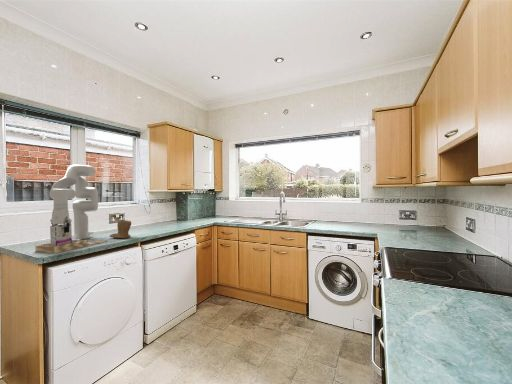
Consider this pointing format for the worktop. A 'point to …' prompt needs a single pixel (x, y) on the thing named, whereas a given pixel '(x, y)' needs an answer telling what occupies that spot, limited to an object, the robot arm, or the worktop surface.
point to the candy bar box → (60, 235)
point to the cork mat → (96, 242)
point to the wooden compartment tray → (60, 247)
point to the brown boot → (122, 229)
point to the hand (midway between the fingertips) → (61, 232)
